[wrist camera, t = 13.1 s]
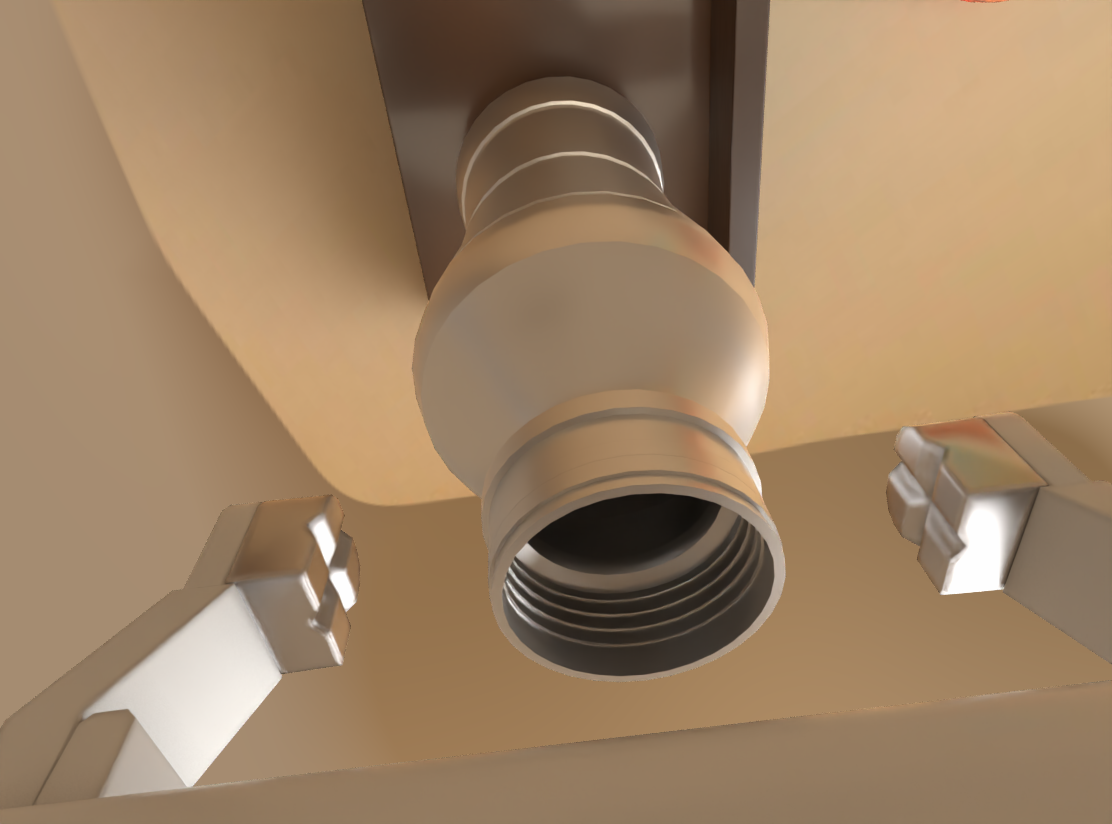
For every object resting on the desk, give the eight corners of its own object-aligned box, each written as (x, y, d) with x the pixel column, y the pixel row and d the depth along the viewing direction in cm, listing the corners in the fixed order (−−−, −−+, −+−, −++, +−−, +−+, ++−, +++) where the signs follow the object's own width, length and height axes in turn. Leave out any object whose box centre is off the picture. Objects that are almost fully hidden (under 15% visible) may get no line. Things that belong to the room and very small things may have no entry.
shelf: (453, 311, 35) (438, 414, 28) (373, -84, 26) (319, -91, 19) (698, 282, 35) (750, 378, 27) (701, -126, 26) (778, -150, 18)
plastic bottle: (652, 237, 27) (878, 714, 11) (476, 260, 27) (426, 767, 11) (645, 50, 24) (968, 328, 7) (442, 77, 24) (287, 413, 7)
